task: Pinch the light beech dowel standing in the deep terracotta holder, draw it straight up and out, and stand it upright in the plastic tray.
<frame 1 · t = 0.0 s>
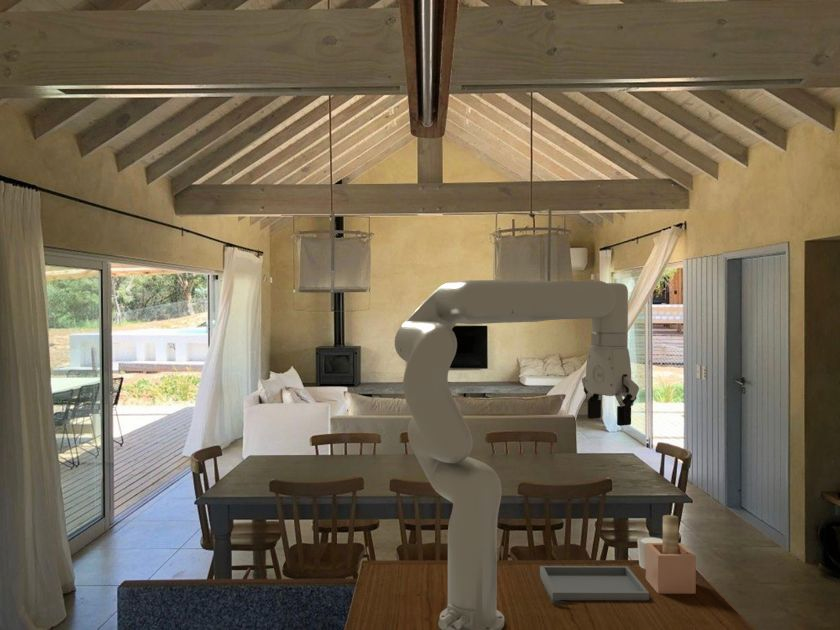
hand: (608, 421, 150), 37 cm above the table, tool pointing down, fingers open, 9 cm apart
dowel: (669, 585, 153), point 1 cm above the table, touching holder
shot glass: (652, 571, 165), on the table
tray: (591, 590, 153), on the table
holder: (669, 590, 153), on the table
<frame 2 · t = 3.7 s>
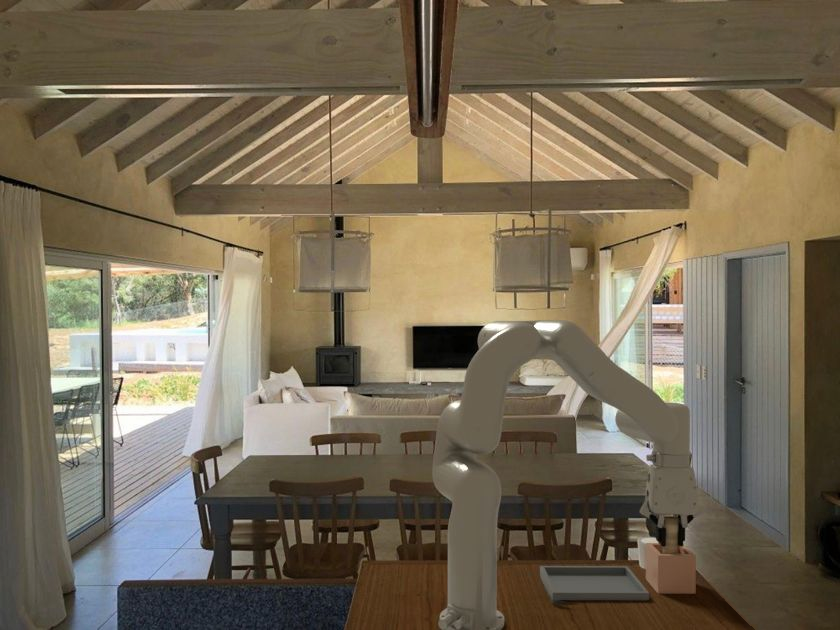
hand: (670, 543, 153), 10 cm above the table, tool pointing down, fingers closed on dowel, 3 cm apart
dowel: (669, 585, 153), point 1 cm above the table, touching gripper, holder
everything else where it was.
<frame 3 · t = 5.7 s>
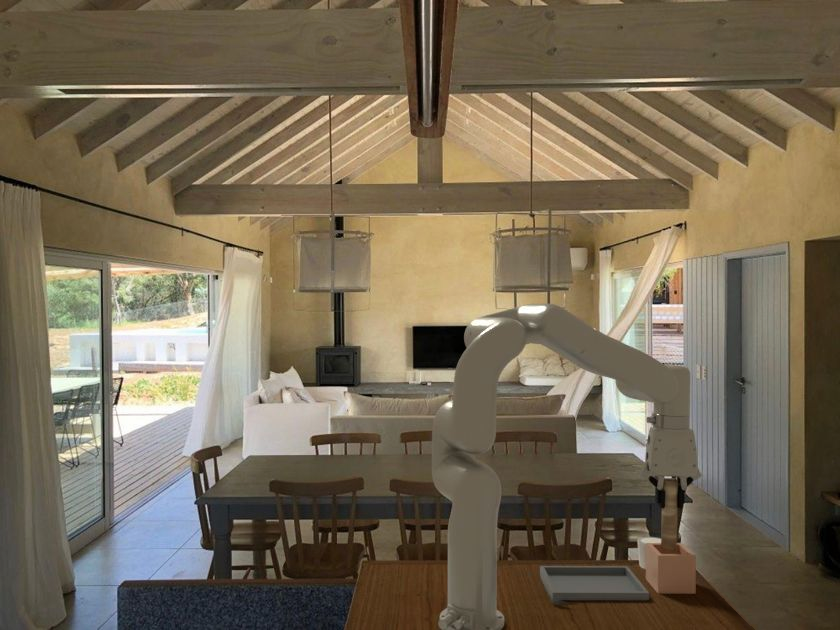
hand: (669, 506, 153), 18 cm above the table, tool pointing down, fingers closed on dowel, 3 cm apart
dowel: (668, 548, 153), point 9 cm above the table, touching gripper
everything else where it was.
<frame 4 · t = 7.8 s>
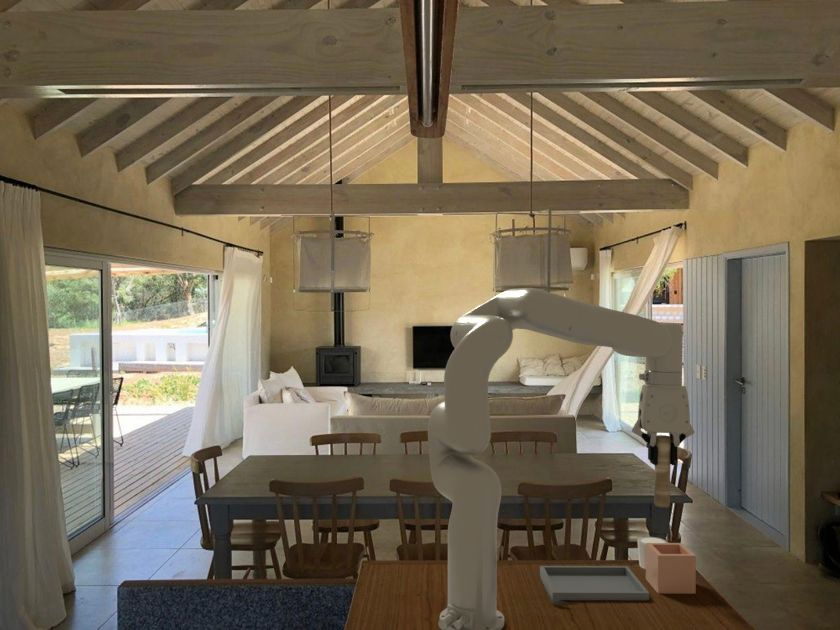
hand: (662, 462, 153), 28 cm above the table, tool pointing down, fingers closed on dowel, 3 cm apart
dowel: (661, 505, 153), point 19 cm above the table, touching gripper
everything else where it was.
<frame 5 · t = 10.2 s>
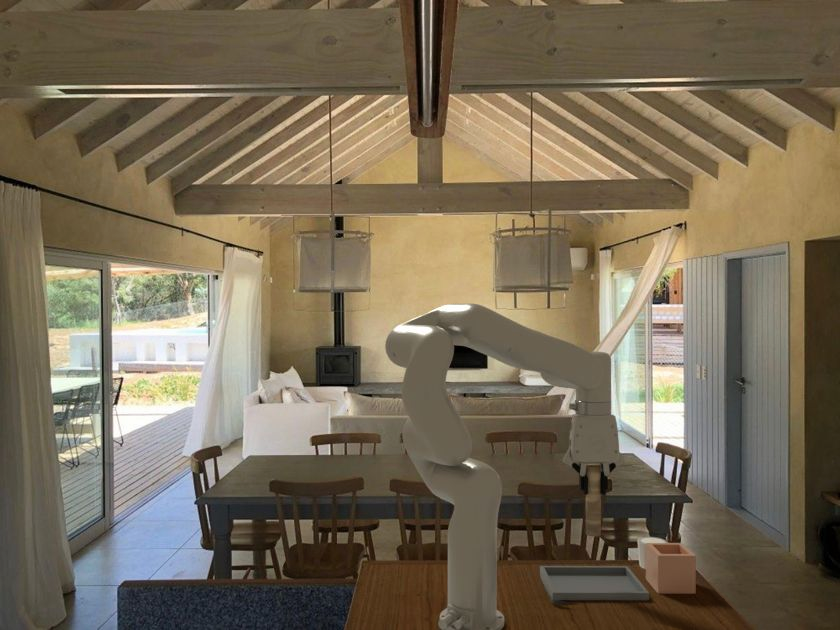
hand: (593, 492, 153), 21 cm above the table, tool pointing down, fingers closed on dowel, 3 cm apart
dowel: (593, 534, 153), point 12 cm above the table, touching gripper
everything else where it was.
when the fingers open (11 cm above the table, at t = 12.2 s): dowel stays where it is, resting on tray.
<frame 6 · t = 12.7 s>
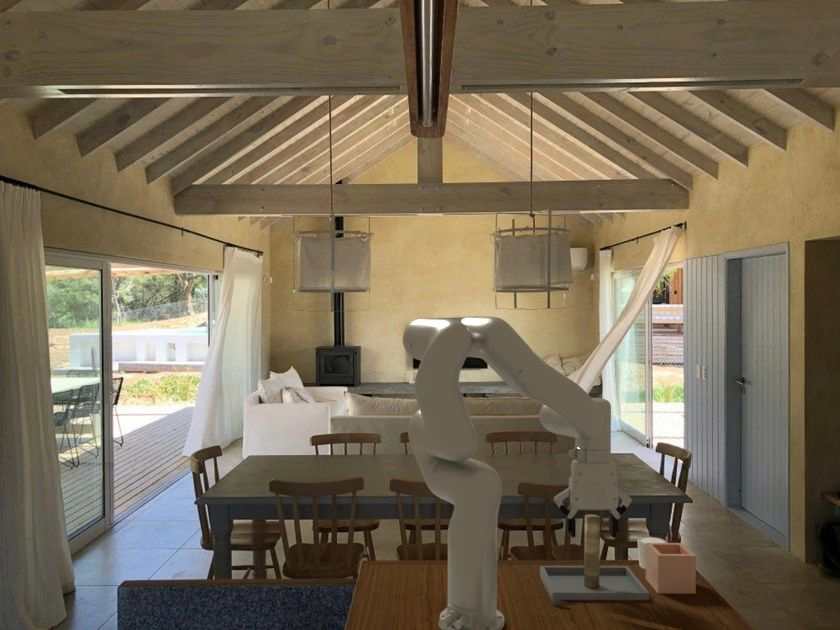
hand: (592, 535, 153), 12 cm above the table, tool pointing down, fingers open, 8 cm apart
dowel: (591, 585, 153), point 1 cm above the table, touching tray
everything else where it was.
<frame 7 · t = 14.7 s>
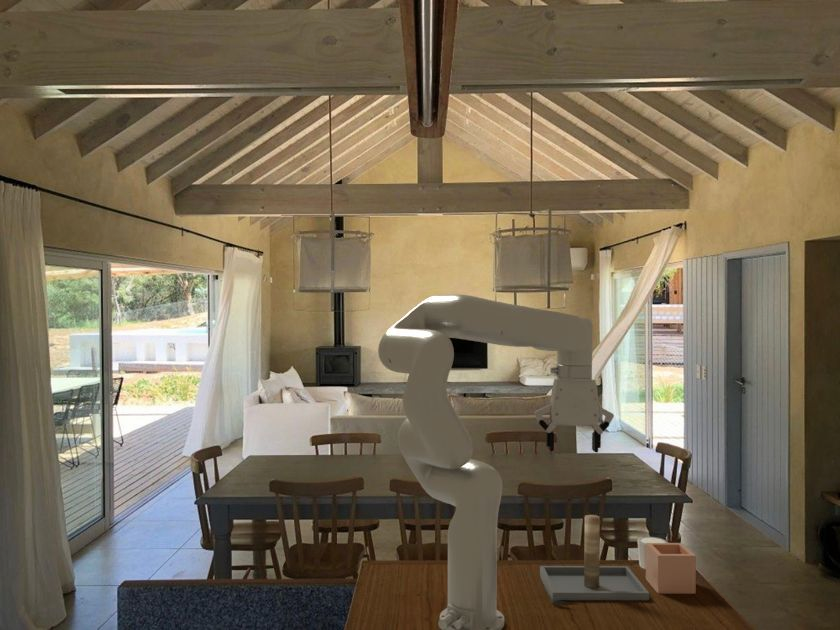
hand: (573, 450, 155), 30 cm above the table, tool pointing down, fingers open, 9 cm apart
nothing on the table moved.
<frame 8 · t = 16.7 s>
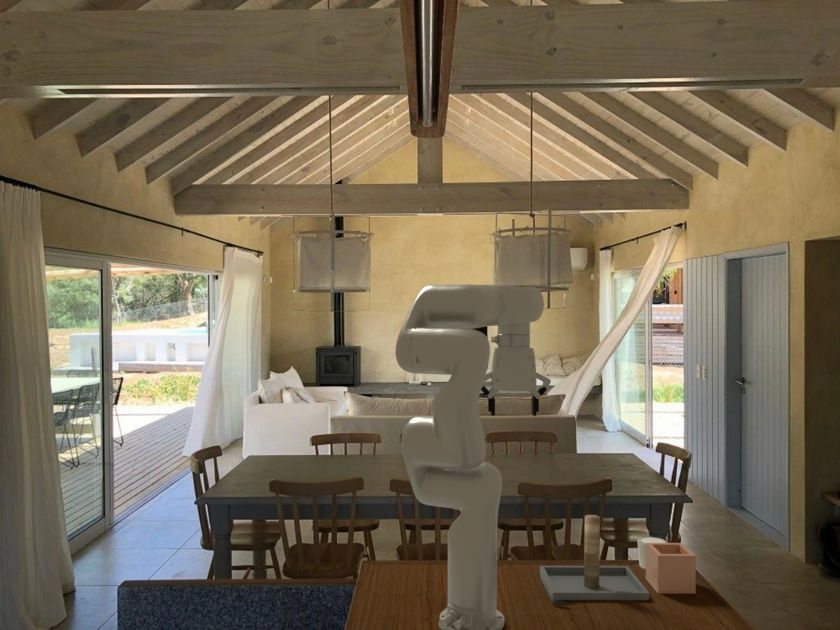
hand: (513, 414, 165), 36 cm above the table, tool pointing down, fingers open, 9 cm apart
nothing on the table moved.
at the end: dowel inside the target area on the tray (0.0 cm from its centre), point 1.0 cm above the tray's base; dowel tilted 0°; the gripper is holding nothing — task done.
